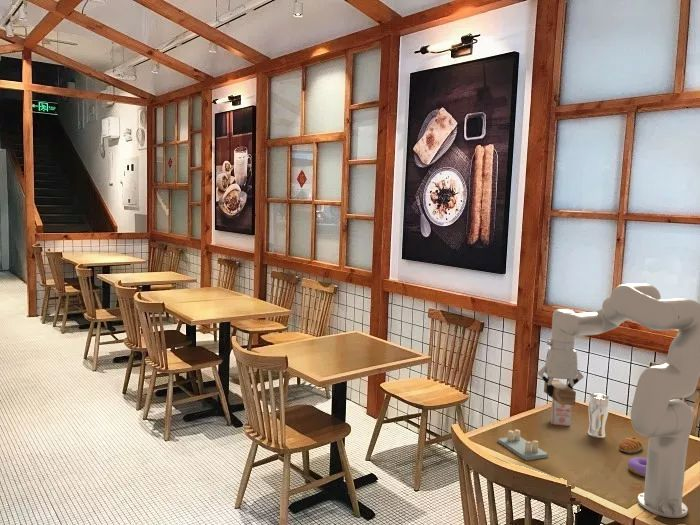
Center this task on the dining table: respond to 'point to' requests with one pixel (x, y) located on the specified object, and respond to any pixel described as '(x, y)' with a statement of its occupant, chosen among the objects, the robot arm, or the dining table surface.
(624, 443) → the pastry
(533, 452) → the peg board
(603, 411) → the beer glass
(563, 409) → the white printed box
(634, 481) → the dining table surface
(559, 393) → the plank
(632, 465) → the donut
